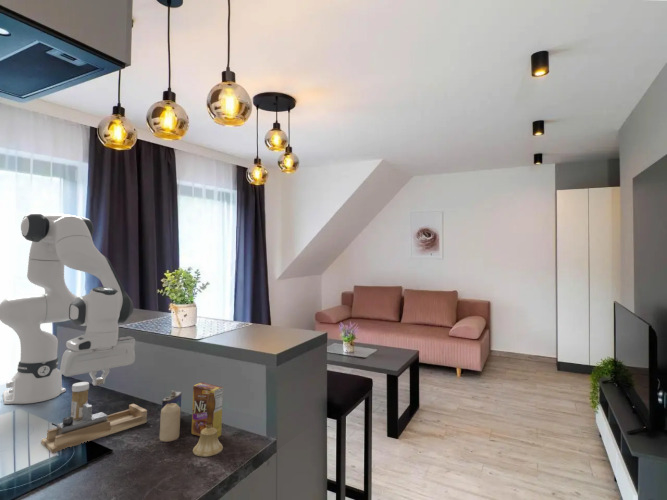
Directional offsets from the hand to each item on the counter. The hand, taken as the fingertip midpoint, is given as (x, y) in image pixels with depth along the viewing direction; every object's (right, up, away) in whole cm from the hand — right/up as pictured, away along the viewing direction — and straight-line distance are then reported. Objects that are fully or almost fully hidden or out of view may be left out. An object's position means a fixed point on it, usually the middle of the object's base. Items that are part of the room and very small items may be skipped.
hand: (98, 384), depth 116 cm
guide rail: (0, -15, -1) cm, 15 cm away
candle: (+23, -16, -3) cm, 28 cm away
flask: (+19, -16, +8) cm, 26 cm away
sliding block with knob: (-2, -13, -4) cm, 14 cm away
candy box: (+34, -16, 0) cm, 37 cm away
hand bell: (+37, -16, -9) cm, 41 cm away
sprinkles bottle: (-8, -15, +3) cm, 17 cm away
